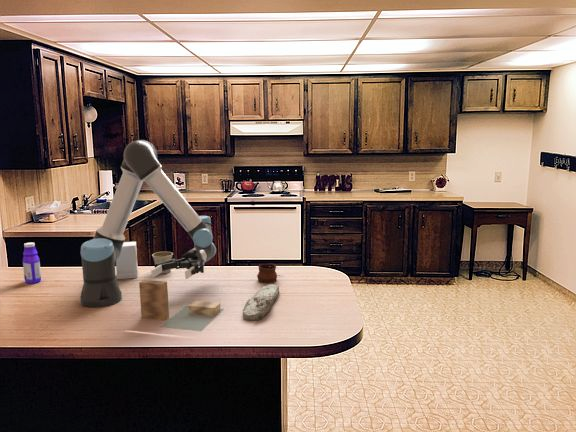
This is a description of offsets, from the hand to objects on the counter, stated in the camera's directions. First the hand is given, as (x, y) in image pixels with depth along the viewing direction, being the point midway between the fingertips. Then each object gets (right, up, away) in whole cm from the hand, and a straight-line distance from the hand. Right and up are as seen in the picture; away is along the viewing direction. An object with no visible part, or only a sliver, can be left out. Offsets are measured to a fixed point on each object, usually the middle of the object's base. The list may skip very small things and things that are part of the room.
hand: (169, 274), depth 176 cm
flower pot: (-15, -5, +49) cm, 51 cm away
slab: (-3, -15, -7) cm, 17 cm away
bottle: (-68, -8, +36) cm, 78 cm away
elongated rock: (+34, -13, +6) cm, 37 cm away
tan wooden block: (+14, -13, -3) cm, 19 cm away
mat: (+10, -15, -7) cm, 19 cm away
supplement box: (-29, -6, +43) cm, 53 cm away
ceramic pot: (+34, -7, +35) cm, 50 cm away
